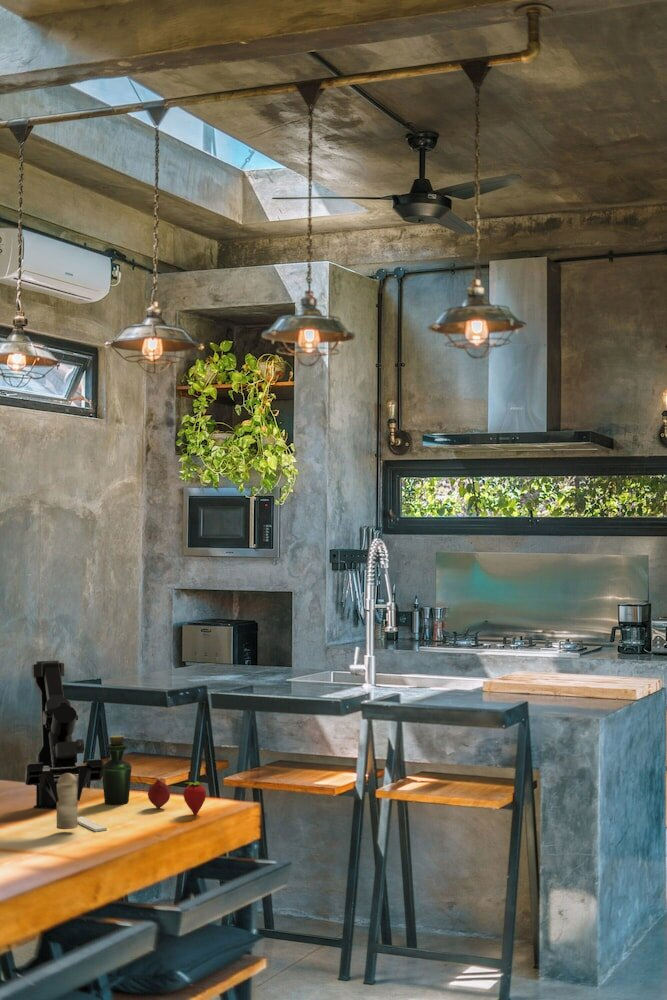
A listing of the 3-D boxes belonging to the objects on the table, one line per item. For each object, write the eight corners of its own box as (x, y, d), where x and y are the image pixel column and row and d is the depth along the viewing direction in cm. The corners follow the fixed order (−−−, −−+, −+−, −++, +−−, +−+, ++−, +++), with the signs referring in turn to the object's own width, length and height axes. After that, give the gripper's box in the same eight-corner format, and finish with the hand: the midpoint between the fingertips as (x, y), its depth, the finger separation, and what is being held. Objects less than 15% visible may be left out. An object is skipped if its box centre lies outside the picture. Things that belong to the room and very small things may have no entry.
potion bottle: (105, 799, 336) (105, 734, 337) (134, 799, 335) (134, 734, 336) (98, 805, 328) (98, 738, 328) (128, 805, 327) (128, 738, 328)
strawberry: (180, 817, 312) (180, 778, 312) (186, 811, 319) (186, 773, 320) (203, 817, 312) (203, 778, 312) (208, 811, 319) (208, 773, 320)
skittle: (52, 827, 295) (52, 773, 295) (68, 823, 299) (68, 770, 299) (66, 830, 292) (66, 775, 292) (81, 826, 296) (82, 772, 296)
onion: (172, 806, 326) (172, 776, 327) (167, 810, 321) (167, 779, 321) (151, 805, 327) (151, 775, 327) (145, 810, 321) (145, 779, 322)
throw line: (71, 820, 309) (71, 817, 309) (82, 818, 311) (82, 816, 311) (95, 831, 296) (95, 829, 296) (107, 830, 298) (107, 827, 298)
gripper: (26, 730, 297) (31, 783, 286) (103, 726, 303) (110, 778, 292) (22, 757, 304) (27, 811, 293) (97, 753, 310) (105, 805, 299)
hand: (67, 800), depth 294 cm, fingers closed on skittle, 5 cm apart
